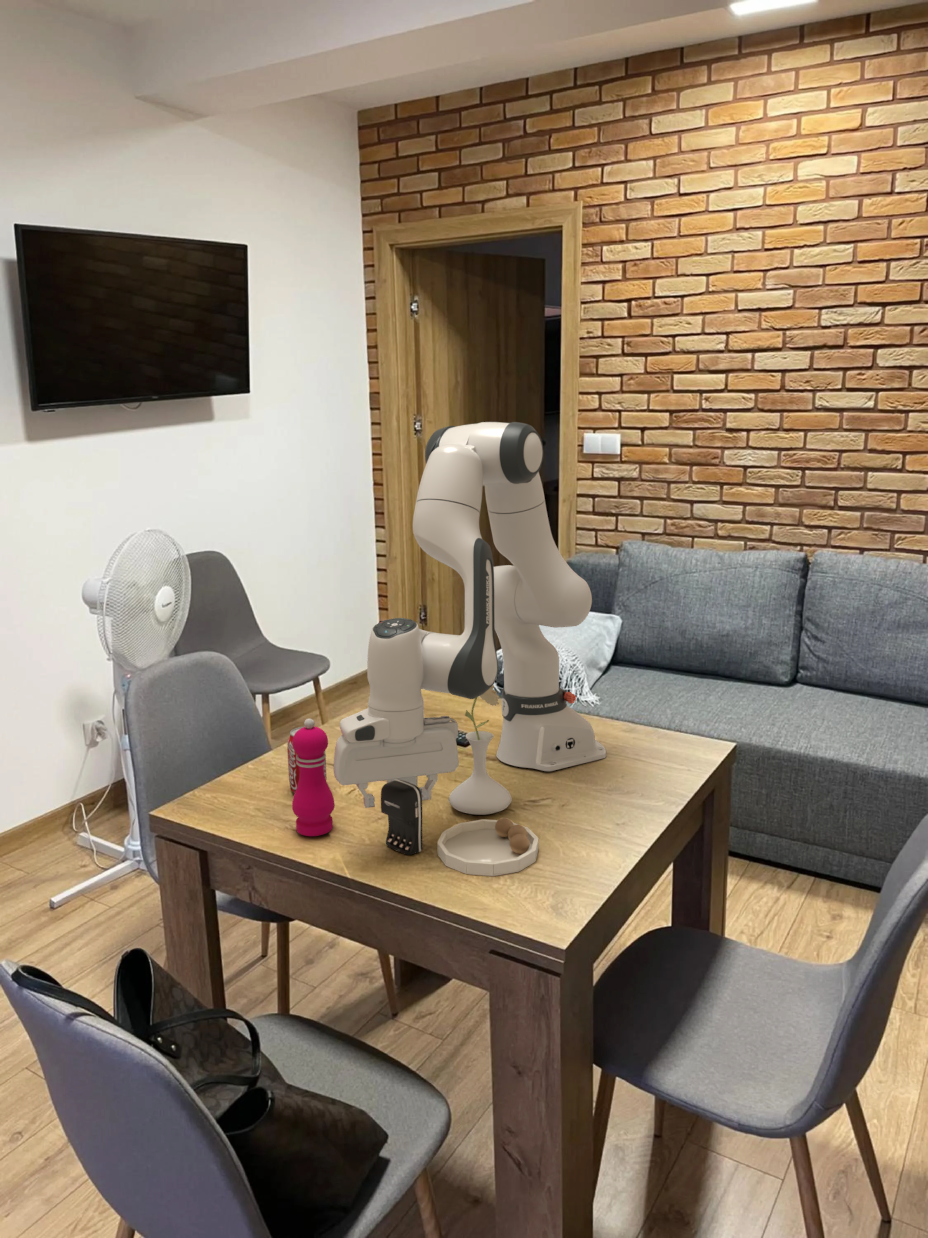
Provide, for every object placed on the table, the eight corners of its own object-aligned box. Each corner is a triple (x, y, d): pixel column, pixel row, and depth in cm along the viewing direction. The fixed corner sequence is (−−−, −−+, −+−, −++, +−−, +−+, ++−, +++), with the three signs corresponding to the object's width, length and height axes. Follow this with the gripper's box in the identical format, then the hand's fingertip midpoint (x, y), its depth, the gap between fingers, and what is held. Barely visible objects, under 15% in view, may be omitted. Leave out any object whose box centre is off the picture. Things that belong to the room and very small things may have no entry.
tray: (515, 825, 167) (515, 814, 167) (553, 865, 153) (553, 853, 152) (427, 839, 162) (426, 828, 162) (457, 882, 148) (457, 870, 147)
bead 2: (522, 838, 161) (522, 820, 160) (530, 846, 158) (530, 828, 157) (505, 841, 160) (505, 823, 159) (512, 849, 157) (512, 831, 156)
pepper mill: (316, 841, 162) (311, 728, 158) (284, 832, 166) (278, 721, 162) (344, 825, 168) (339, 716, 164) (312, 816, 172) (306, 709, 168)
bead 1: (510, 831, 164) (509, 813, 163) (517, 838, 161) (517, 821, 160) (492, 834, 163) (492, 816, 162) (499, 841, 160) (499, 823, 159)
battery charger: (378, 847, 160) (376, 782, 157) (395, 839, 163) (393, 775, 160) (407, 860, 155) (405, 793, 153) (424, 852, 158) (423, 786, 155)
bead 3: (525, 847, 158) (525, 829, 157) (532, 855, 155) (532, 837, 154) (506, 850, 157) (506, 832, 156) (514, 859, 154) (514, 840, 153)
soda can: (319, 799, 179) (316, 738, 177) (283, 797, 181) (280, 736, 178) (332, 785, 186) (329, 726, 184) (297, 782, 188) (294, 724, 185)
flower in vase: (518, 817, 171) (518, 681, 165) (455, 824, 168) (453, 686, 163) (500, 789, 183) (500, 662, 178) (441, 795, 181) (439, 666, 175)
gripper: (451, 709, 160) (452, 787, 163) (330, 721, 154) (332, 803, 156) (464, 720, 154) (464, 801, 157) (338, 733, 148) (340, 818, 151)
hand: (397, 802), depth 157 cm, fingers open, 8 cm apart
